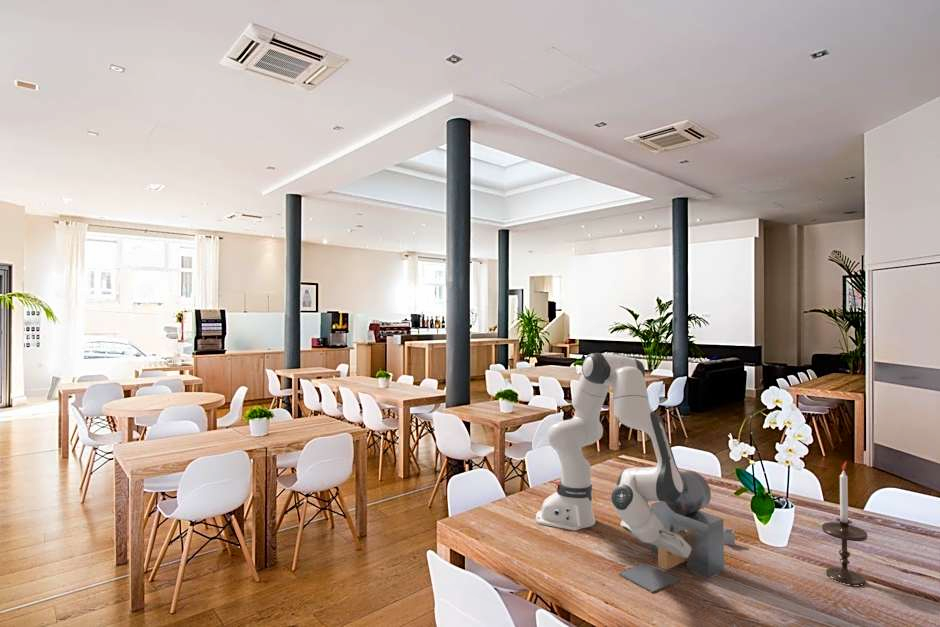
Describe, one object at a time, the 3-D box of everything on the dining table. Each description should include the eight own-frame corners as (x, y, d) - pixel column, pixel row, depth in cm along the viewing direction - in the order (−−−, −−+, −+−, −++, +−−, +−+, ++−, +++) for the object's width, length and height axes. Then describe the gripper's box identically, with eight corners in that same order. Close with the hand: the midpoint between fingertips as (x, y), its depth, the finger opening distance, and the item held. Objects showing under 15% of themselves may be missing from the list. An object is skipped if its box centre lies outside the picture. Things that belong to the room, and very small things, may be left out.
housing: (708, 578, 151) (707, 484, 151) (651, 552, 168) (651, 467, 168) (723, 571, 156) (722, 479, 156) (667, 546, 172) (666, 463, 173)
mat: (652, 593, 144) (652, 591, 144) (619, 575, 154) (619, 573, 154) (678, 580, 150) (678, 579, 150) (645, 564, 160) (645, 562, 160)
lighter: (734, 543, 174) (733, 520, 174) (735, 545, 173) (734, 522, 173) (711, 540, 177) (711, 517, 177) (712, 542, 175) (711, 519, 175)
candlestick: (877, 584, 147) (875, 463, 147) (849, 590, 144) (848, 467, 144) (840, 567, 158) (839, 454, 158) (813, 572, 155) (812, 457, 155)
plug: (666, 569, 154) (666, 542, 154) (658, 565, 157) (658, 539, 157) (690, 558, 160) (690, 533, 161) (682, 555, 163) (681, 530, 163)
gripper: (682, 528, 144) (703, 554, 149) (625, 506, 161) (645, 530, 167) (673, 548, 142) (694, 573, 147) (615, 523, 159) (636, 547, 164)
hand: (668, 550), depth 157 cm, fingers closed on plug, 3 cm apart
